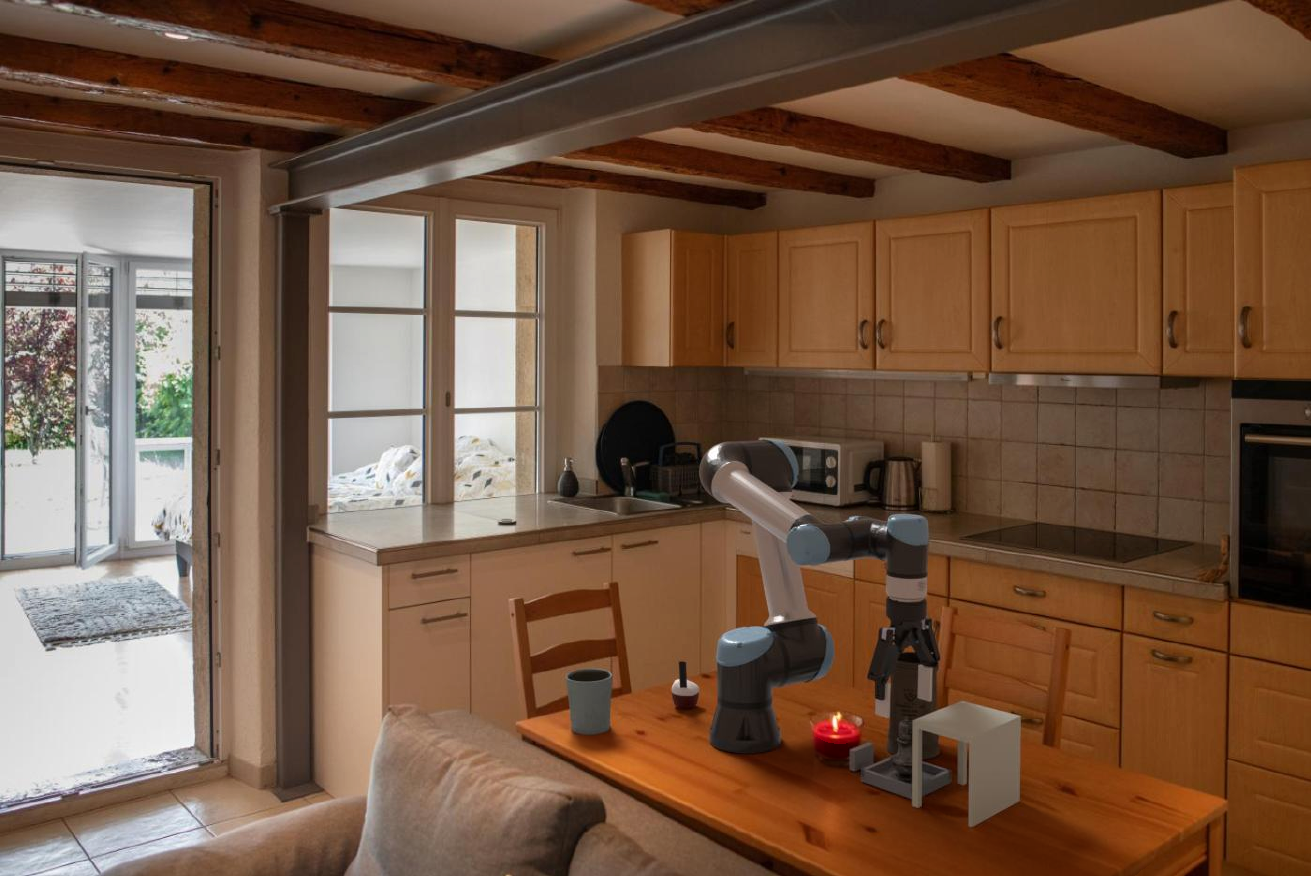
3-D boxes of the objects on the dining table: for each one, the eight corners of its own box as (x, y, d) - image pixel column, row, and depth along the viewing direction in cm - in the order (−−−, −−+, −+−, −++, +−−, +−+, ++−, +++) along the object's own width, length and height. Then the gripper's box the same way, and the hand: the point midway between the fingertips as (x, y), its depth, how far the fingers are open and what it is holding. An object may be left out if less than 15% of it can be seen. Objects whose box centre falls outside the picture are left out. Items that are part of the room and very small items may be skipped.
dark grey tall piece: (895, 784, 194) (896, 721, 193) (886, 772, 200) (886, 711, 199) (926, 783, 194) (927, 720, 194) (916, 771, 200) (916, 710, 199)
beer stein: (942, 763, 207) (942, 662, 207) (886, 759, 209) (887, 659, 209) (937, 741, 222) (937, 647, 222) (885, 737, 224) (886, 645, 224)
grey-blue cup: (621, 729, 228) (620, 676, 227) (581, 739, 222) (580, 684, 221) (597, 717, 236) (596, 665, 235) (558, 726, 231) (557, 673, 230)
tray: (839, 773, 201) (840, 753, 201) (877, 757, 209) (877, 738, 209) (914, 800, 189) (914, 778, 188) (951, 782, 197) (951, 761, 196)
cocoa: (682, 701, 248) (681, 651, 248) (706, 704, 245) (705, 653, 245) (662, 711, 240) (661, 659, 240) (686, 714, 237) (685, 661, 237)
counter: (912, 805, 187) (912, 720, 186) (961, 781, 197) (961, 700, 196) (971, 827, 178) (972, 737, 177) (1019, 800, 189) (1020, 715, 187)
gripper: (883, 612, 184) (880, 728, 186) (960, 590, 200) (957, 697, 202) (849, 604, 189) (847, 717, 191) (927, 583, 206) (924, 688, 208)
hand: (904, 707), depth 197 cm, fingers open, 13 cm apart
